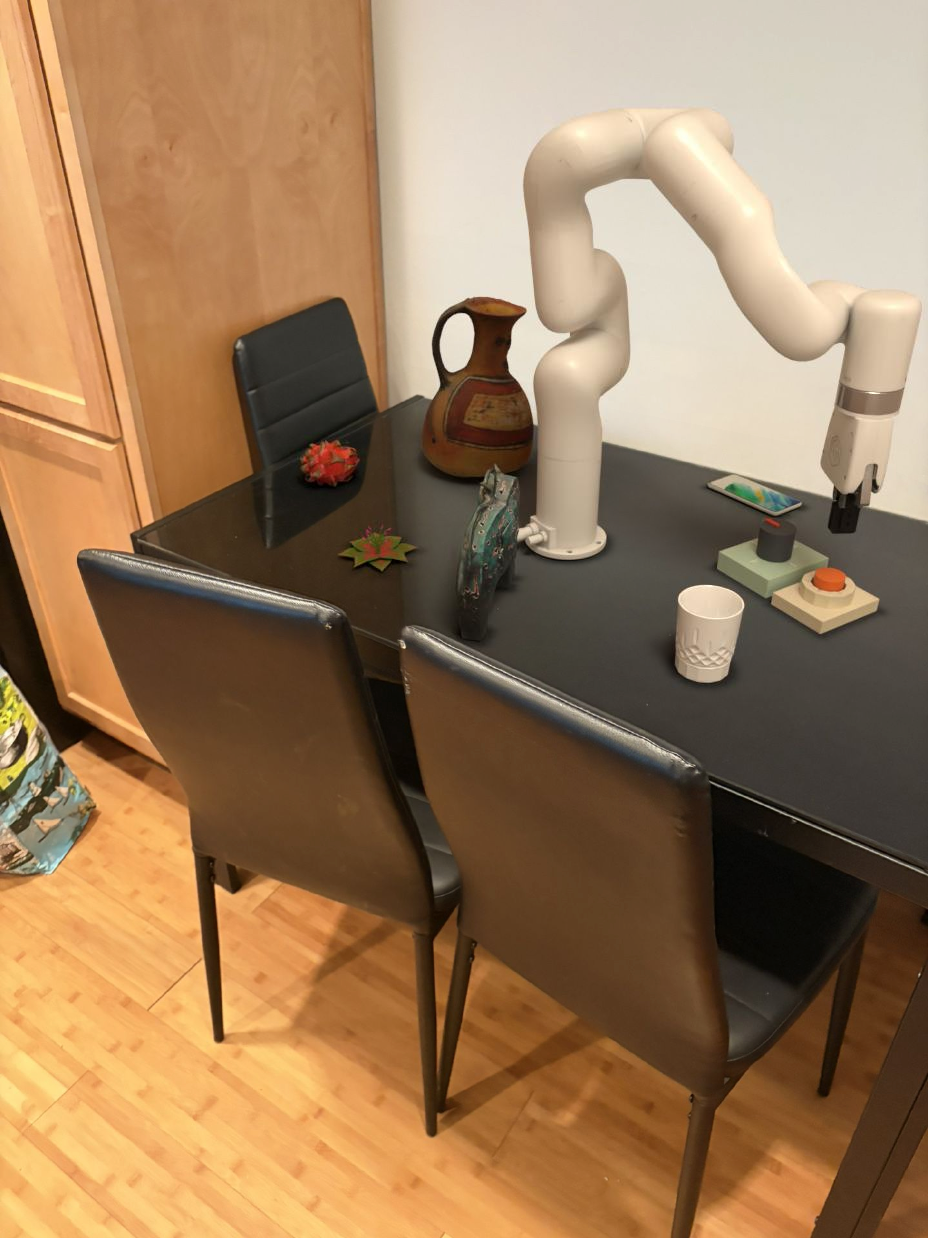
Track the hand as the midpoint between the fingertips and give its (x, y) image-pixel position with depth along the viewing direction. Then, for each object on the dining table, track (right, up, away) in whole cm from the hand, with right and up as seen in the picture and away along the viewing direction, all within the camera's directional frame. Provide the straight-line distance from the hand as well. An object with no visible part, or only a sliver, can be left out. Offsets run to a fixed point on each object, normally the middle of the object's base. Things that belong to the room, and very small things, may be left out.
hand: (841, 530), depth 128 cm
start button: (0, -7, +5) cm, 9 cm away
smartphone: (-1, +9, +36) cm, 37 cm away
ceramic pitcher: (-47, +16, +49) cm, 70 cm away
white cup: (-20, -18, -5) cm, 27 cm away
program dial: (-5, -2, +13) cm, 14 cm away
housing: (0, -10, +7) cm, 12 cm away
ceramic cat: (-46, -10, +9) cm, 48 cm away
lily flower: (-63, -2, +22) cm, 67 cm away
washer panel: (-5, -5, +15) cm, 17 cm away
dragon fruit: (-74, +13, +45) cm, 87 cm away
